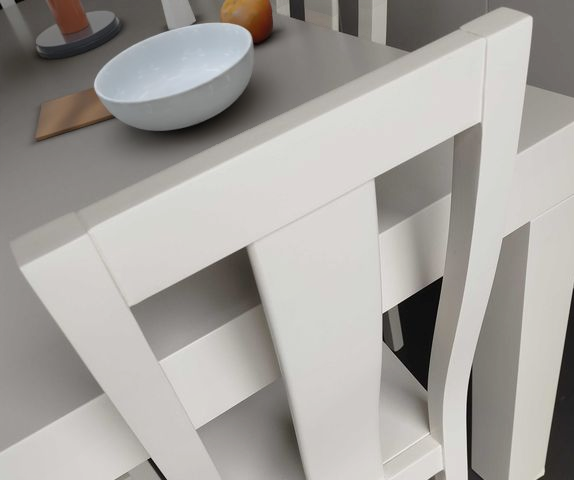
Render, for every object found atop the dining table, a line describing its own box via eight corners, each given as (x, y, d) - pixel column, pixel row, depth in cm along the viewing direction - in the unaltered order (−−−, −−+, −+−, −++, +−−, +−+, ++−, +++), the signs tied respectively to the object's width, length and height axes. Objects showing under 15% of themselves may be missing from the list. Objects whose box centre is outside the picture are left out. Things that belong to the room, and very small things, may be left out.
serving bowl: (91, 124, 83) (68, 75, 78) (213, 61, 89) (198, 12, 84) (159, 171, 70) (137, 116, 65) (296, 93, 76) (285, 38, 71)
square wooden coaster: (36, 141, 83) (35, 138, 83) (43, 106, 91) (41, 103, 91) (118, 116, 83) (116, 112, 83) (117, 83, 91) (116, 80, 91)
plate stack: (35, 67, 104) (29, 56, 103) (42, 37, 115) (37, 26, 114) (121, 40, 104) (117, 28, 103) (120, 13, 115) (116, 2, 114)
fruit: (294, 15, 91) (265, -25, 84) (270, 61, 91) (240, 26, 84) (258, 11, 95) (228, -27, 89) (235, 55, 96) (204, 21, 89)
